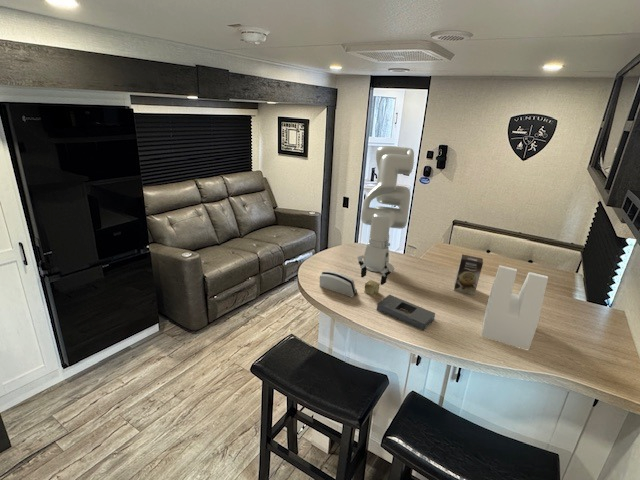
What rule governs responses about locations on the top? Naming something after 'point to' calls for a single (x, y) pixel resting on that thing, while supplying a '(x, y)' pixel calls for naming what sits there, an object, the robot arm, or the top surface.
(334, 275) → the hinge
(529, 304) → the white slotted block
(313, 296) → the top surface
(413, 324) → the grey square hole block
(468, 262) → the coffee box
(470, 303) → the top surface
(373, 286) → the brass cube
